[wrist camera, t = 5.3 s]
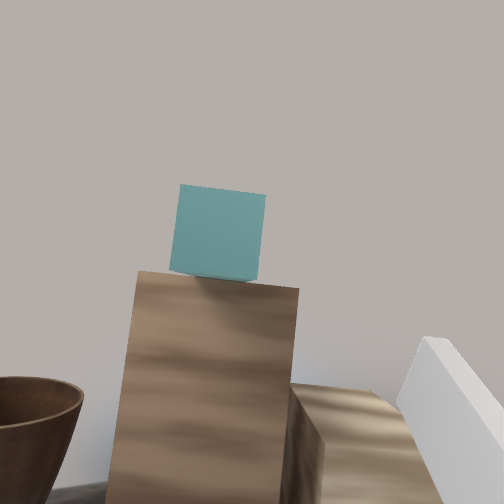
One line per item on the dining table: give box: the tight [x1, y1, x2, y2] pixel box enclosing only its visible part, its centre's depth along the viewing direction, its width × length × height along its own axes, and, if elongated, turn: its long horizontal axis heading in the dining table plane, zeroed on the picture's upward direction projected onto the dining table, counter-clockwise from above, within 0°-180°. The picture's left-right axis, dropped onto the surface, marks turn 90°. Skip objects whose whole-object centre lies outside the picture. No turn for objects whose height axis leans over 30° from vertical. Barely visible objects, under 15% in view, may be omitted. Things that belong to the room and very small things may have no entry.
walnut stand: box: [105, 271, 299, 504], centre depth 33 cm, size 20×14×30 cm
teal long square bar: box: [169, 184, 266, 282], centre depth 30 cm, size 28×4×4 cm, turn 4°
